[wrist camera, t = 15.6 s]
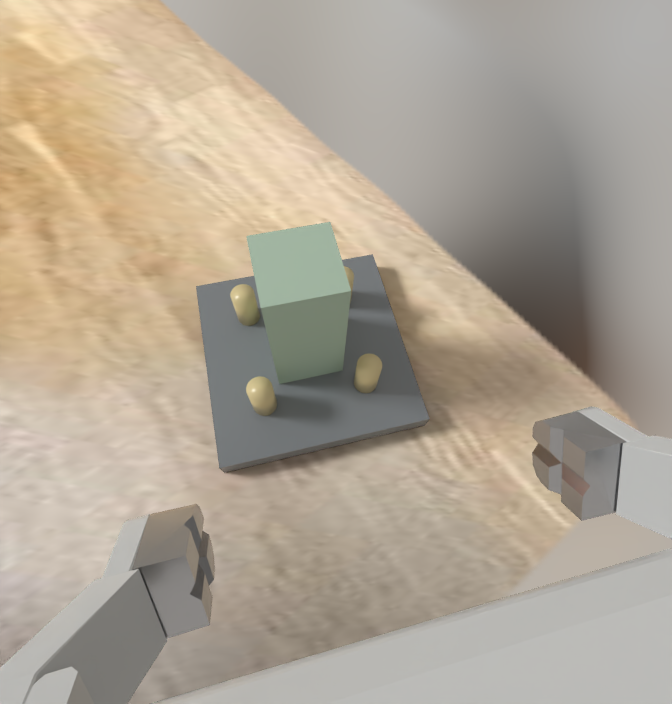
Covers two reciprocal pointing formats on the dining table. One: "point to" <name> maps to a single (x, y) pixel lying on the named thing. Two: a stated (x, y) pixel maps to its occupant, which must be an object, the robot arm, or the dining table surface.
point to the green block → (302, 299)
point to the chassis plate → (306, 394)
